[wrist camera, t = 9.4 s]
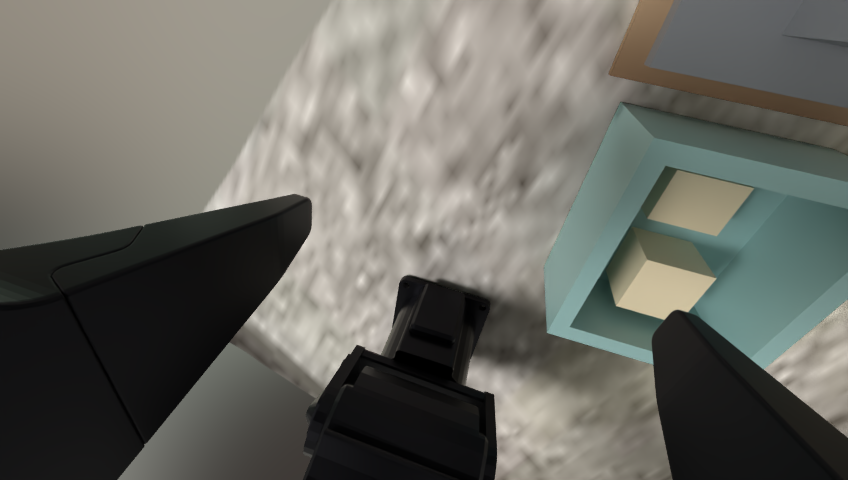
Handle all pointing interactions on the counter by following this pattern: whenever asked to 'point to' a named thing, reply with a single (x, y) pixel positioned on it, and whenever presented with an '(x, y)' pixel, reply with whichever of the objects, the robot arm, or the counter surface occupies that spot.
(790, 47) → the lid
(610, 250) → the storage box
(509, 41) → the counter surface
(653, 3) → the walnut board
